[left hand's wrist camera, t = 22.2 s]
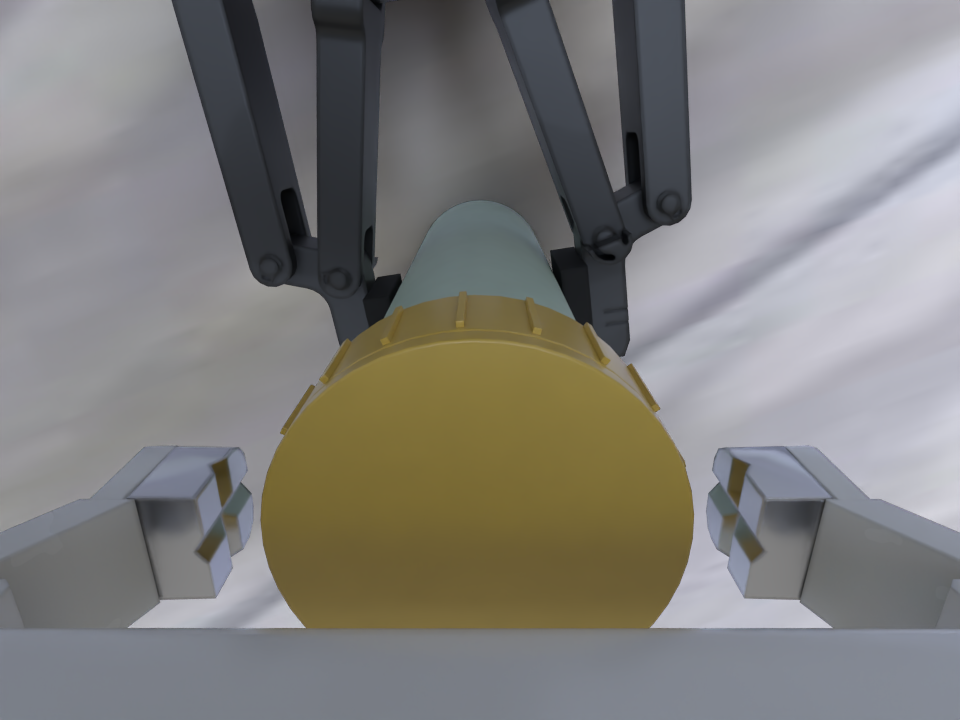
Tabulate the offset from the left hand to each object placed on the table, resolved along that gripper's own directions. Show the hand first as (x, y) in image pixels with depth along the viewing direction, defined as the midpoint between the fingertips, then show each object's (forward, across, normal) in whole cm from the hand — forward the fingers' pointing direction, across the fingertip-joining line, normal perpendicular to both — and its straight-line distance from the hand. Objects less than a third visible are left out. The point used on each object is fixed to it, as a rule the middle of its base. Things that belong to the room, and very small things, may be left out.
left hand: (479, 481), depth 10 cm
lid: (-2, 0, 0) cm, 2 cm away
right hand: (+9, +1, -5) cm, 10 cm away
